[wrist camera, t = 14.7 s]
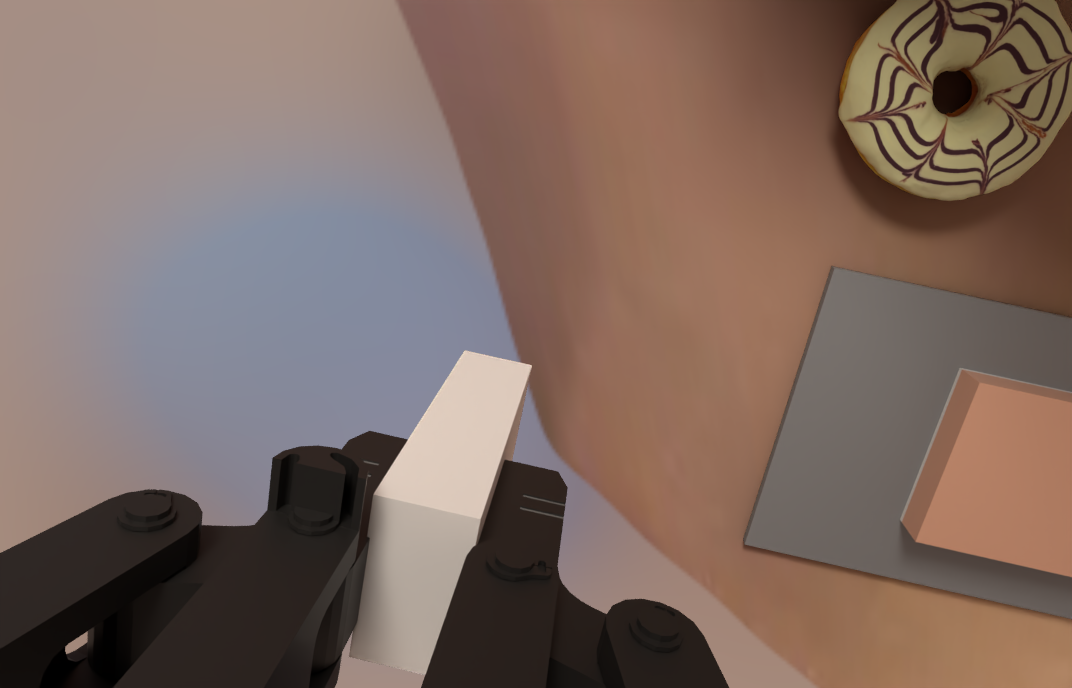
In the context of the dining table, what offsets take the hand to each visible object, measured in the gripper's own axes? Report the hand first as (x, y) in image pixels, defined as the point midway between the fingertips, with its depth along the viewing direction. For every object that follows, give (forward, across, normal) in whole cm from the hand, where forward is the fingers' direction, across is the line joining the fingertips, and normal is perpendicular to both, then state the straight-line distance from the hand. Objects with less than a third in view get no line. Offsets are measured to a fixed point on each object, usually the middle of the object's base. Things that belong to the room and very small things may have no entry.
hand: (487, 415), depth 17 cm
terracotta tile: (+27, +24, -8) cm, 36 cm away
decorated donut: (+29, +18, +11) cm, 36 cm away
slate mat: (+28, +27, -8) cm, 40 cm away
